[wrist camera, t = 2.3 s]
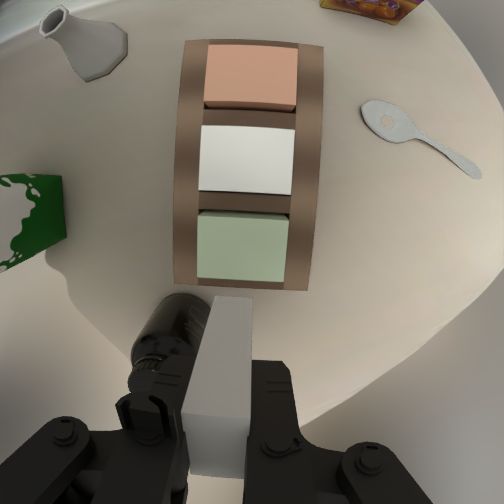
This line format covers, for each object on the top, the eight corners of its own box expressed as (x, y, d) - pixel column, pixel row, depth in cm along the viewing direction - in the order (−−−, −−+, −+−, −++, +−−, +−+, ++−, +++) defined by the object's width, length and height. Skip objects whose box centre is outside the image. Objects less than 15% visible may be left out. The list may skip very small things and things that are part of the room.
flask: (119, 15, 23) (79, -25, 13) (137, 56, 24) (94, 19, 15) (68, 49, 23) (18, 24, 14) (82, 93, 25) (27, 73, 16)
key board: (193, 55, 24) (185, 40, 21) (314, 61, 25) (323, 46, 21) (183, 269, 30) (174, 283, 26) (300, 275, 30) (307, 290, 27)
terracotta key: (214, 61, 23) (208, 44, 19) (291, 64, 23) (297, 48, 19) (210, 110, 24) (203, 100, 20) (289, 114, 24) (295, 105, 21)
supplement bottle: (150, 293, 31) (104, 354, 19) (211, 290, 31) (190, 357, 19) (162, 346, 33) (129, 417, 21) (219, 346, 33) (205, 422, 21)
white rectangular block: (209, 132, 25) (201, 125, 21) (288, 135, 25) (294, 129, 21) (206, 187, 26) (198, 190, 22) (285, 191, 26) (290, 194, 22)
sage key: (205, 209, 27) (197, 215, 23) (283, 213, 27) (288, 220, 23) (204, 262, 28) (197, 277, 24) (279, 266, 28) (283, 282, 24)
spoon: (361, 92, 26) (366, 88, 24) (494, 169, 27) (502, 169, 26) (351, 127, 27) (357, 125, 25) (487, 198, 28) (495, 200, 27)
